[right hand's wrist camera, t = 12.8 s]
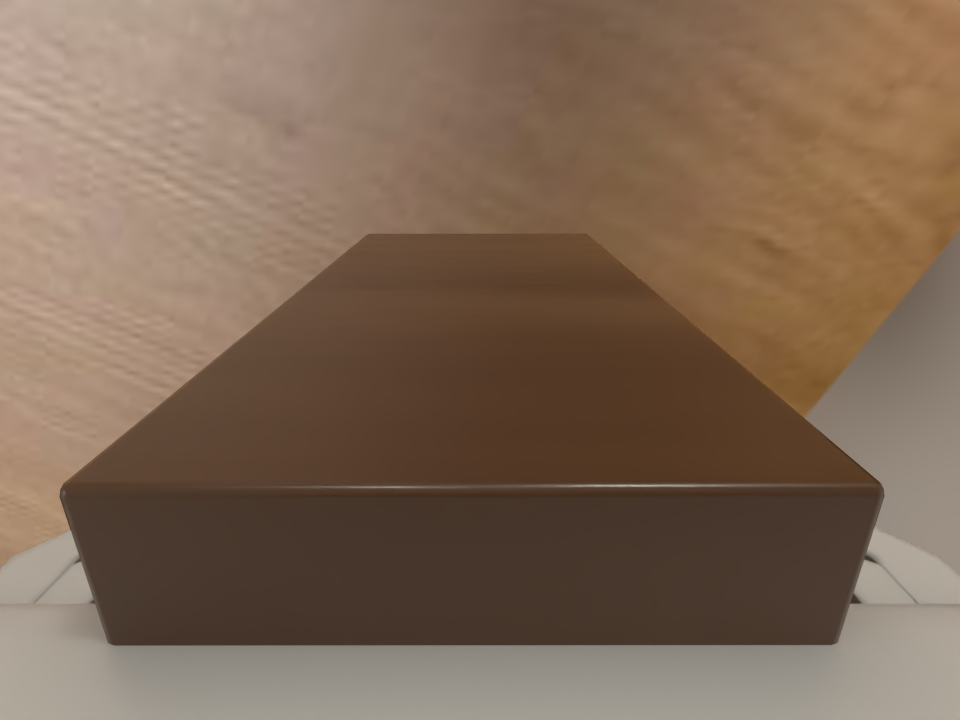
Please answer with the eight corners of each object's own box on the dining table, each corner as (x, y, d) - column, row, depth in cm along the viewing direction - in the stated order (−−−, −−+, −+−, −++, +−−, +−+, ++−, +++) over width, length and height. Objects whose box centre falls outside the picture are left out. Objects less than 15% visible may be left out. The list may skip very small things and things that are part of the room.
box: (366, 233, 15) (49, 487, 4) (588, 233, 15) (893, 487, 4) (404, 744, 22) (331, 1325, 11) (552, 743, 22) (622, 1325, 11)
